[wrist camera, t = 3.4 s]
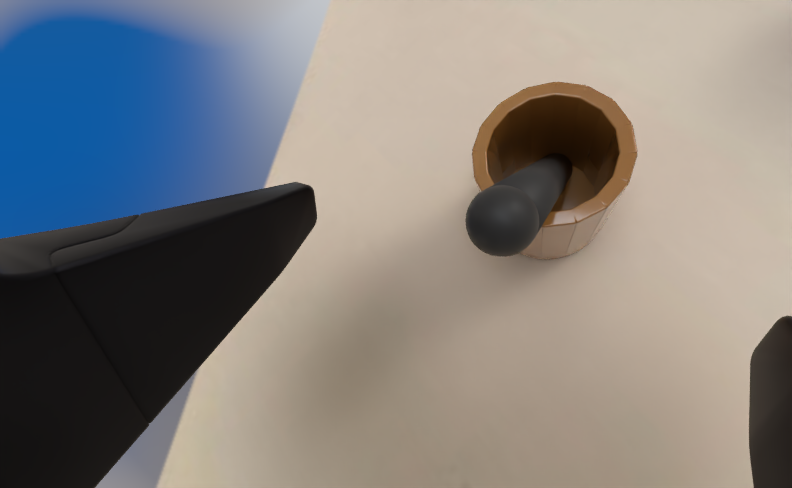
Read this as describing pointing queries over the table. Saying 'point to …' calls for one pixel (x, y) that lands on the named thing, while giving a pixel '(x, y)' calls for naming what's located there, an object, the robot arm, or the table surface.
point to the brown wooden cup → (571, 136)
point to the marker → (517, 206)
